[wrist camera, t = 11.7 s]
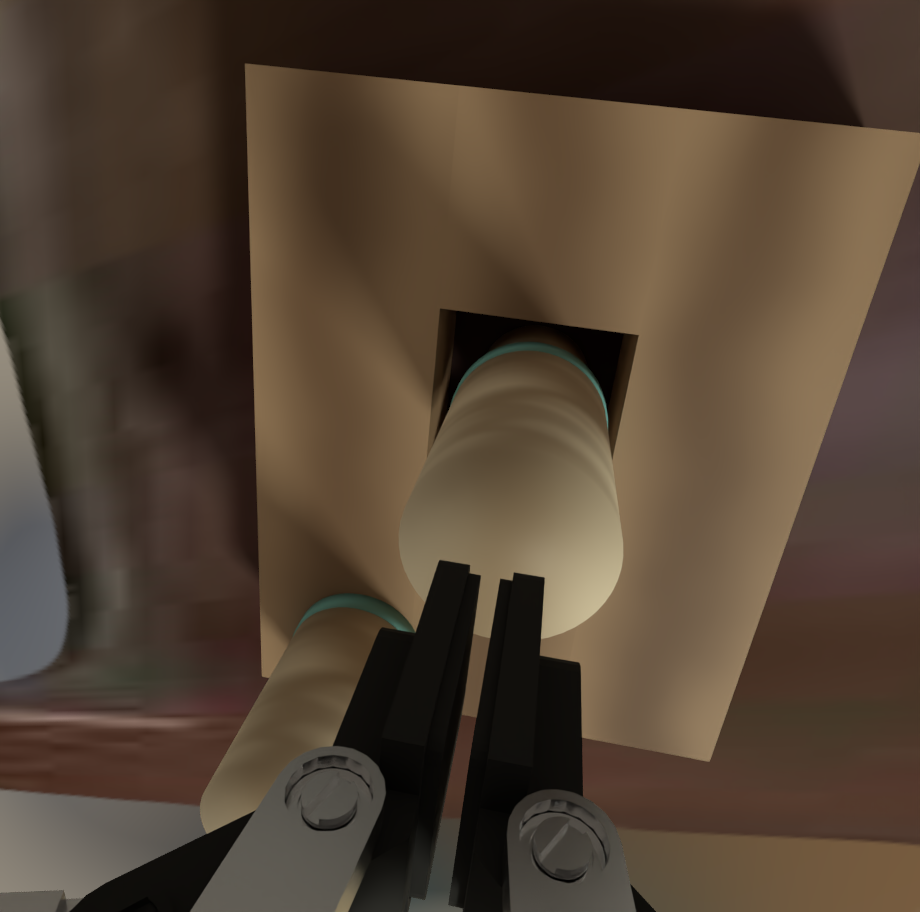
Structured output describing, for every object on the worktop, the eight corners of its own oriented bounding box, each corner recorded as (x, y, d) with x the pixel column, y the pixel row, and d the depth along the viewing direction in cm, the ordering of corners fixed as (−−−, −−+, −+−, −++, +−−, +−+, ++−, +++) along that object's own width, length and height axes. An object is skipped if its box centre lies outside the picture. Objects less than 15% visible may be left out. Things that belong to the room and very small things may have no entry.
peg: (612, 322, 24) (648, 465, 14) (588, 448, 26) (602, 659, 16) (475, 304, 25) (403, 429, 14) (462, 429, 27) (390, 622, 16)
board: (868, 136, 21) (1184, 125, 10) (693, 688, 30) (759, 990, 19) (297, 76, 23) (43, 12, 12) (297, 616, 32) (155, 858, 21)
